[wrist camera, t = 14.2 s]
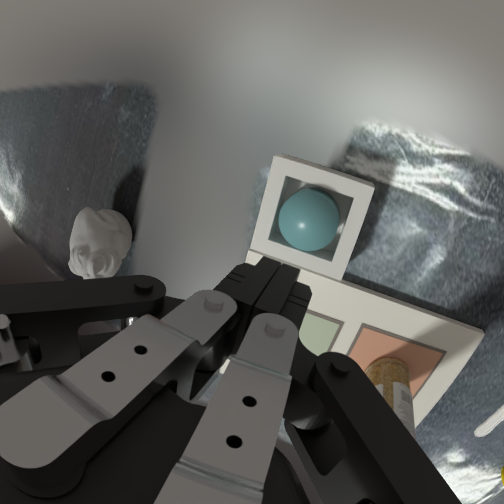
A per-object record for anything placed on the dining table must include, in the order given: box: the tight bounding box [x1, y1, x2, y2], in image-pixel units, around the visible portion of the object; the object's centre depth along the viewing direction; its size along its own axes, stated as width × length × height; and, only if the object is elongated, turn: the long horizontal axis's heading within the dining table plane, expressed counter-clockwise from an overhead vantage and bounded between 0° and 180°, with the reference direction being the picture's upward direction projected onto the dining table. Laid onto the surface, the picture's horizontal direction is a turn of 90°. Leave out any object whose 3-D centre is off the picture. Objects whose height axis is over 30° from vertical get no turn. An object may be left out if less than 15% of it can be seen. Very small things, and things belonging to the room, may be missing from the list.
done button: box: [279, 187, 340, 251], centre depth 22 cm, size 4×4×2 cm
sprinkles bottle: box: [364, 358, 416, 440], centre depth 20 cm, size 5×5×13 cm
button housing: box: [250, 154, 375, 281], centre depth 23 cm, size 7×7×3 cm
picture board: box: [220, 249, 485, 428], centre depth 27 cm, size 22×14×1 cm, turn 76°
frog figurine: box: [68, 207, 132, 279], centre depth 27 cm, size 6×7×7 cm
